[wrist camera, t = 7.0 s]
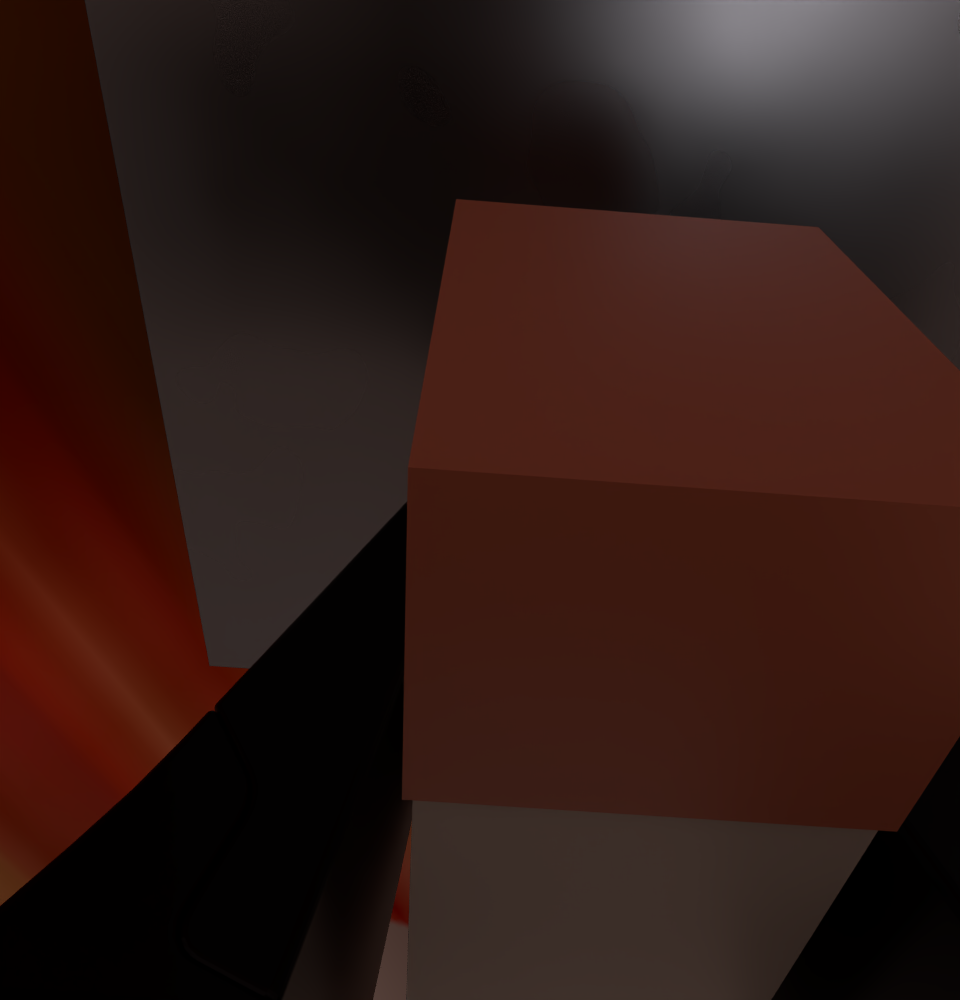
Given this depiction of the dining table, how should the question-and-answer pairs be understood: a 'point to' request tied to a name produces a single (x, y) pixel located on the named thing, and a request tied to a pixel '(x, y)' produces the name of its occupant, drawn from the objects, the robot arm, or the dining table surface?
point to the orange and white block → (665, 601)
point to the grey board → (430, 207)
